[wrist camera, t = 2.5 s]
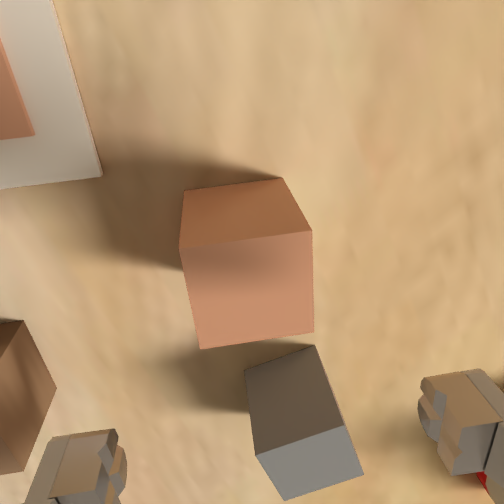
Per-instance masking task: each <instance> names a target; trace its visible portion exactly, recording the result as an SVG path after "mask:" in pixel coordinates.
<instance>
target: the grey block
mask: <svg viewBox="0 0 504 504" xmlns="http://www.w3.org/2000/svg"><path fill="white" fill-rule="evenodd" d="M244 373H245V381H246V389H247V396H248V404H249V412H250V419H251V427H252V435H253V442H254V450H255V456H256V457H257V459H258V461H259V462H260V464H261V465H262V467H263V469H264V470H265V472H266V473H267V475H268V476H269V478H270V480H271V481H272V483H273V484H274V486H275V487H276V489H277V491H278V492H279V494H280V495H281V497H282V499H283V500H284V501H286V500H289V499H292V498H295V497H298V496H301V495H304V494H307V493H310V492H313V491H316V490H319V489H322V488H325V487H328V486H332V485H335V484H338V483H341V482H344V481H347V480H350V479H353V478H356V477H359V476H362V475H364V473H363V470H362V467H361V465H360V462H359V459H358V457H357V454H356V451H355V448H354V446H353V443H352V440H351V438H350V435H349V432H348V430H347V427H346V424H345V421H344V419H343V416H342V413H341V411H340V408H339V405H338V403H337V400H336V397H335V394H334V392H333V389H332V387H331V384H330V382H329V379H328V377H327V374H326V372H325V369H324V367H323V364H322V361H321V359H320V356H319V354H318V351H317V349H316V346H315V345H314V346H311V347H308V348H305V349H302V350H300V351H297V352H294V353H291V354H288V355H286V356H283V357H280V358H277V359H275V360H272V361H269V362H266V363H263V364H261V365H258V366H255V367H252V368H250V369H247V370H244Z"/></svg>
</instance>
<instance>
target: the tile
mask: <svg viewBox="0 0 504 504" xmlns="http://www.w3.org/2000/svg"><path fill="white" fill-rule="evenodd" d="M102 175H103V171H102V168H101V164H100V161H99V157H98V154H97V151H96V147H95V144H94V140H93V137H92V134H91V130H90V127H89V123H88V120H87V117H86V113H85V110H84V106H83V103H82V99H81V96H80V93H79V89H78V86H77V82H76V79H75V76H74V72H73V69H72V65H71V62H70V59H69V55H68V52H67V48H66V45H65V42H64V38H63V35H62V31H61V28H60V24H59V21H58V18H57V14H56V11H55V7H54V4H53V1H52V0H0V189H8V188H16V187H24V186H32V185H40V184H47V183H55V182H63V181H71V180H79V179H87V178H94V177H101V176H102Z"/></svg>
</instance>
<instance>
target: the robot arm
mask: <svg viewBox="0 0 504 504" xmlns="http://www.w3.org/2000/svg"><path fill="white" fill-rule="evenodd" d="M420 388H421V390H422V392H423V393H424V394H423V395H422V397H421V398H420V399H419V400H418V413H419V418H420V421H421V424H422V426H423V428H424V430H425V432H426V434H427V436H428V437H430V438H431V439H433V440H434V441H436V442H437V443H438V447H437V453H438V455H439V456H440V458H441V460H442V462H443V463H444V465H445V467H446V468H447V470H448V472H449V473H450V475H451V476H455V475H461V474H468V473H475V472H482V471H485V472H484V473H485V474H486V475H487V476H488V477H490V478H491V479H492V480H494V481H495V482H496V483H497V484H499V485H500V486H501V487H503V488H504V393H503V392H502V391H501V390H500V389H499V388H498V386H497V385H496V384H495V383H494V382H493V381H492V380H491V378H490V377H489V376H488V375H487V374H486V373H485V372H484V371H483V370H481V369H473V370H467V371H461V372H453V373H447V374H441V375H436V376H430V377H424V378H423V380H422V381H421V386H420ZM117 442H118V435H117V432H116V430H115V429H106V430H99V431H91V432H84V433H76V434H70V435H63V436H57V437H52V439H51V440H50V441H49V442H48V444H47V446H46V449H45V451H44V454H43V457H42V459H41V462H40V464H39V467H38V469H37V472H36V474H35V477H34V480H33V482H32V485H31V487H30V490H29V492H28V495H27V498H26V500H25V503H23V504H121V503H120V500H119V498H118V496H119V495H120V493H121V492H122V491H123V489H124V488H125V485H126V478H127V461H126V455H125V452H124V449H123V448H122V447H120V446H118V445H117Z"/></svg>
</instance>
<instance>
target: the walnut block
mask: <svg viewBox="0 0 504 504" xmlns="http://www.w3.org/2000/svg"><path fill="white" fill-rule="evenodd" d="M56 389H57V387H56V385H55V383H54V381H53V379H52V377H51V375H50V373H49V371H48V369H47V367H46V365H45V363H44V361H43V359H42V357H41V355H40V353H39V351H38V349H37V347H36V344H35V342H34V340H33V338H32V336H31V334H30V332H29V330H28V328H27V326H26V324H25V322H24V320H22V321H15V322H9V323H2V324H0V475H4V474H10V473H16V472H22V471H24V469H25V467H26V464H27V462H28V459H29V457H30V454H31V452H32V449H33V447H34V444H35V442H36V439H37V437H38V434H39V432H40V429H41V427H42V424H43V422H44V419H45V417H46V414H47V412H48V409H49V407H50V404H51V402H52V399H53V397H54V394H55V392H56Z"/></svg>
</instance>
